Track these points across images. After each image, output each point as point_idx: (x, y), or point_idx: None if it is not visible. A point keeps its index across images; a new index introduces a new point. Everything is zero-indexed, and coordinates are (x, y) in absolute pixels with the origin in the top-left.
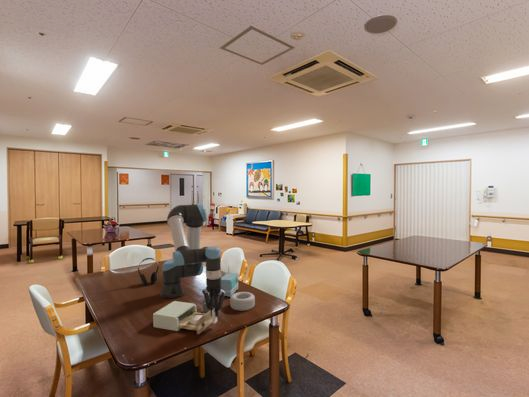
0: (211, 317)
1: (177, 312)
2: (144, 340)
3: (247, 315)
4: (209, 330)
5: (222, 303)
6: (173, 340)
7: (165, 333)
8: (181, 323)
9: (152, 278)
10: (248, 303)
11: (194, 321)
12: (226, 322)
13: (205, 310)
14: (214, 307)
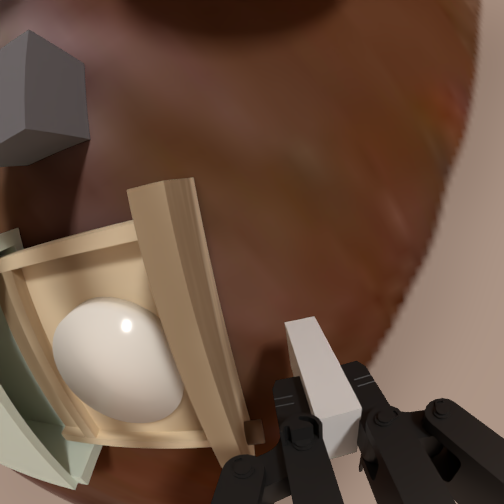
0: (209, 298)
1: (12, 441)
2: (89, 485)
3: (406, 22)
4: (280, 367)
5: (499, 443)
6: (176, 479)
7: None
8: (88, 433)
9: None
10: None
11: (141, 417)
12: (334, 193)
13: (24, 157)
14: (371, 487)
